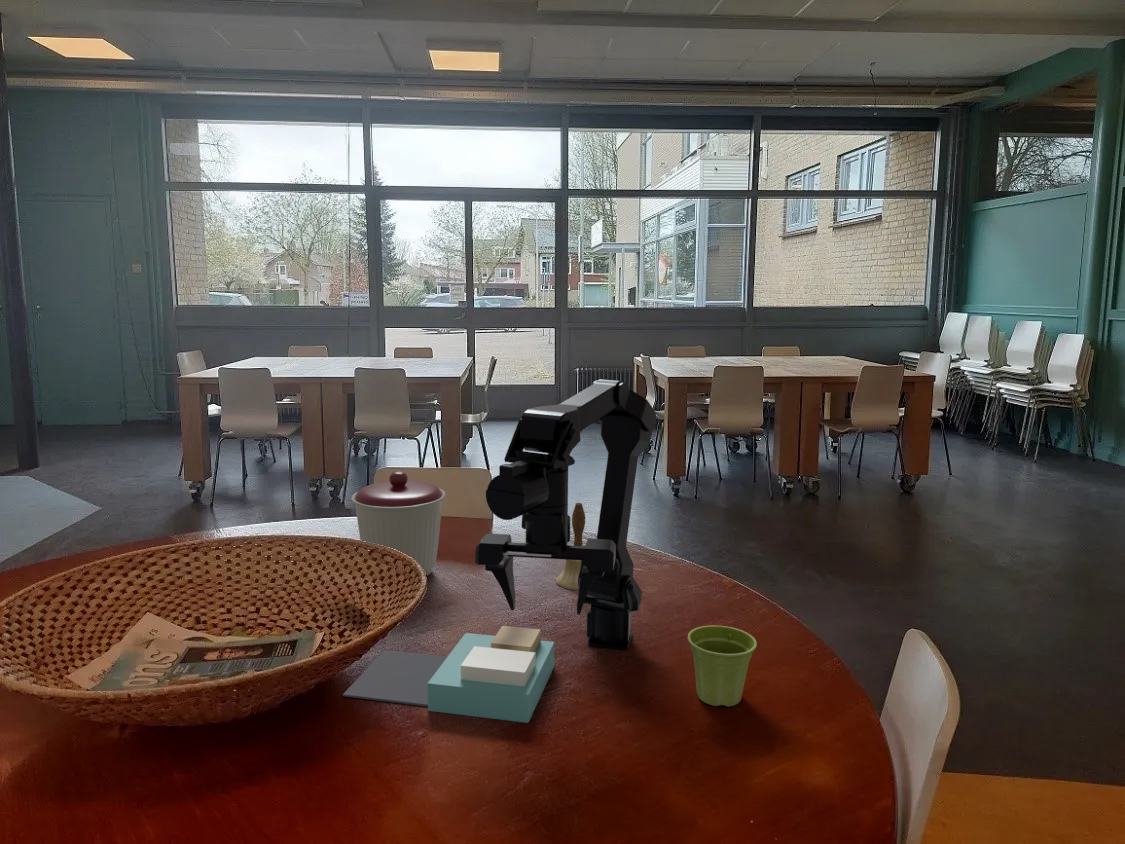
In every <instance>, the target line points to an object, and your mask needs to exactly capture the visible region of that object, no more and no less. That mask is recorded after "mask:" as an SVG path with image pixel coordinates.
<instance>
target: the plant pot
mask: <svg viewBox="0 0 1125 844" xmlns="http://www.w3.org/2000/svg"><path fill="white" fill-rule="evenodd" d="M687 641H688V643H689V645H690V649H691V651H692V654H693V663H694V675H695V684H696V685H695V686H696V694H697V697H698V698H699V700H701V702H703V703H705V704H708V705H711V706H713V707H719V706H725V707H733V706H736V705H738V704H739V703H740V702H741V701H742V696H743V692H744V686H745V683H746V677H747V673H748V669H749V665H750V664H749V663H750V660H751V659H752V657H753V653H754V651H755V650H756V649H757V646H758V645H757V644H758V643H757V640H756V638H755V637H754V636H753V635H752V634H750V633H749V632H746V631H745V630H742V629H739V628H736V627H733V626H725V625H715V624H714V625H703V626H697V627H695V628H693V629H691V630H690V631H689V632H688V635H687Z"/></svg>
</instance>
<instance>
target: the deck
mask: <svg viewBox="0 0 1125 844" xmlns="http://www.w3.org/2000/svg"><path fill="white" fill-rule="evenodd" d="M495 636H496V635H489V634H478V633H469V632H465V633H464V635H463V636H462V637H461V638H460V640H459V641H458V643H457V644H456V645H455V646H454V648H453V649H452V651H451V652H450V653H449V654H448V655H447V658H446V660H445V661H444V662H443V664H442V665H441V666H440V668H439V669H438V670H437V671H436V673H435V674H434V675H433V677H432V678H431V679H430V681H429V682H428V706H427V711H428V712H437V713H444V714H452V715H460V716H461V715H462V716H469V717H475V718H485V719H491V720H492V719H493V720H501V721H509V722H517V723H525V724H529V722H530V721H531V718H532V716H533V714H534V711H535V709H536V707H537V705H538V703H539V701H540V699H541V696H542V695H543V692H544V690H545V688H546V685H547V683H548V681H549V679H550V676H551V675H552V672H553V670H554V668H555V641H550V640H549V641H548V640H541V642H540V644H539V646H538V648H537V650H536V652H535V668H534V670H533V672H532V674H531V675H530V677H529V679H528V681H527V683H526V685H525V686H516V685H507V684H498V683H489V682H480V681H471V680H463V679H461V664H462V663H463V661H464V660H465V659H466V657H467V656H468V654H469V653H470V652H471V650H472V649H473V647H474V646H478V647H487V648H491V642H492V640H493V639H494V637H495Z"/></svg>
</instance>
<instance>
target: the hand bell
mask: <svg viewBox="0 0 1125 844" xmlns="http://www.w3.org/2000/svg"><path fill="white" fill-rule="evenodd" d="M585 524H586V513H585V509H584V506H583V503H581V502H576V503H575V504H574V508H573V511H572V514H571V526H572V527H571V528H572V531H573V535H574V536H573V546H583V533H584V530H585V527H586V525H585ZM580 569H581V560H565V563H564V567H563V570H562V572H561V573H560V574H559V575H558V576H557V578H556V579H555V583H556V584H557V585H558V586H559V587H561V588H564V589H566V590H572V591H573V590H577V591H579V586H578V576H579V573H580Z"/></svg>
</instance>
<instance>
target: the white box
mask: <svg viewBox="0 0 1125 844" xmlns="http://www.w3.org/2000/svg"><path fill="white" fill-rule="evenodd" d="M534 668H535V652H526V651H516V650H506V649H497V648H487V647H478V646H474V647H473V649H472V650H471V652H470V653H469V654H468V656H467V657H466V659H465V660H464V661H463V663H462V664H461V679H463V680H471V681H480V682H489V683H498V684H507V685H516V686H525V685H526V683H527V681H528V679H529V677H530V675H531V674H532V672H533V670H534Z"/></svg>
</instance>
